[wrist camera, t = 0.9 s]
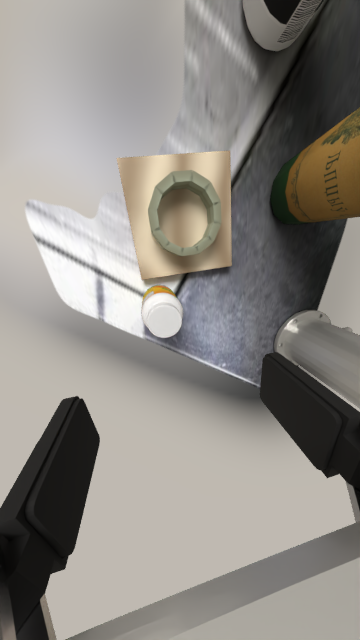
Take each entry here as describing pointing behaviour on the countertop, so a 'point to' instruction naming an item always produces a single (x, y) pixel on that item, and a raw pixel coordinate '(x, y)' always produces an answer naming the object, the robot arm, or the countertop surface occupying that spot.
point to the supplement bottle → (161, 311)
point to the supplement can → (278, 20)
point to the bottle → (322, 178)
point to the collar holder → (179, 211)
